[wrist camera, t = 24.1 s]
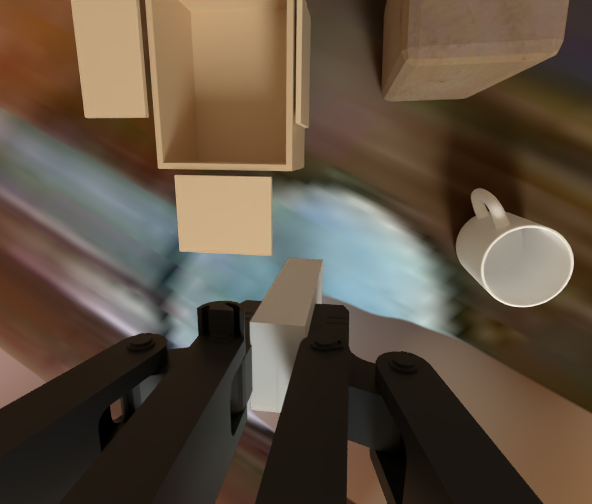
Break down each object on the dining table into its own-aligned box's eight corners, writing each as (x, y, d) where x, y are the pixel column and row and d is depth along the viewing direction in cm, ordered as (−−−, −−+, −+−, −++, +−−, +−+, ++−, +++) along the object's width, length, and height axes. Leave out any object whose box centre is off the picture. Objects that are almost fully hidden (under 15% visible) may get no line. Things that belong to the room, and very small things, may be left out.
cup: (469, 286, 48) (499, 319, 38) (431, 200, 46) (452, 213, 36) (537, 258, 46) (586, 287, 36) (499, 168, 44) (541, 172, 34)
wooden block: (380, 102, 44) (402, 64, 25) (383, 5, 42) (411, -121, 23) (471, 99, 43) (568, 55, 24) (480, -2, 40) (597, -142, 21)
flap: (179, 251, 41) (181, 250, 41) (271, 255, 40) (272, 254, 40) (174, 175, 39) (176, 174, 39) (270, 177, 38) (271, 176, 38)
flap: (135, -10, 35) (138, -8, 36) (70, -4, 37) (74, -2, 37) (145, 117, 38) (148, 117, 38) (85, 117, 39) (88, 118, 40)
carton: (185, -1, 44) (139, -43, 35) (314, -6, 42) (303, -53, 33) (194, 165, 49) (156, 168, 40) (310, 167, 47) (300, 171, 38)
